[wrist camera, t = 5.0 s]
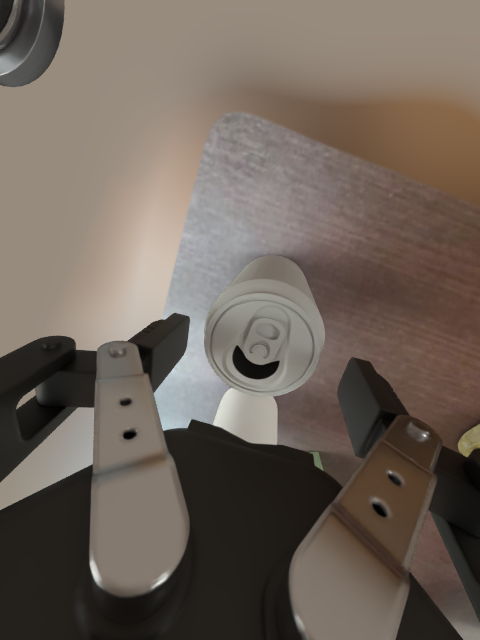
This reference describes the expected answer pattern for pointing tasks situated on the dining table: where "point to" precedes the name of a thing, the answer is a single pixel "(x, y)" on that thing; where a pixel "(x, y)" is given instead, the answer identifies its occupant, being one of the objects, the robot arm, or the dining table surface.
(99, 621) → the robot arm
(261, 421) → the can
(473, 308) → the dining table surface
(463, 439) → the ceramic model
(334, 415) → the dining table surface
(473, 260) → the dining table surface
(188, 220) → the dining table surface
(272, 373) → the beverage can
